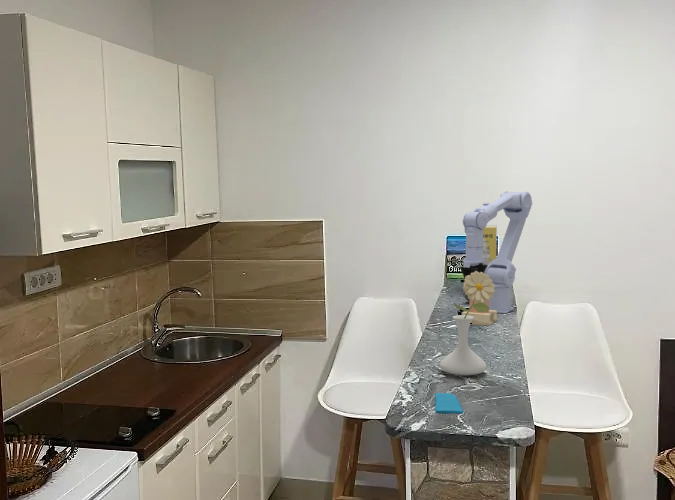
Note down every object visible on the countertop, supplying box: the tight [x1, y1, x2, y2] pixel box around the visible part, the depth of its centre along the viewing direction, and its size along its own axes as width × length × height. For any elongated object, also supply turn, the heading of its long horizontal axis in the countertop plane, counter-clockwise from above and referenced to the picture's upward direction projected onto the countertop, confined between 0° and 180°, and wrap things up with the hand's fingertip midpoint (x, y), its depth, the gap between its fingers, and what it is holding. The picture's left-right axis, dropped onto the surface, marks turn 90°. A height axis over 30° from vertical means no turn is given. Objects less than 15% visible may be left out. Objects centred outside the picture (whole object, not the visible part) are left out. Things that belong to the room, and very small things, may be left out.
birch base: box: [461, 309, 498, 327], centre depth 234 cm, size 9×9×4 cm
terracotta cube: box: [468, 299, 489, 313], centre depth 234 cm, size 5×5×5 cm
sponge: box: [434, 392, 465, 414], centre depth 149 cm, size 2×12×6 cm
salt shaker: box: [463, 293, 470, 306], centre depth 268 cm, size 6×6×12 cm
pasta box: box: [483, 224, 498, 267], centre depth 289 cm, size 18×10×28 cm, turn 167°
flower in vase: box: [438, 271, 495, 376], centre depth 171 cm, size 13×11×25 cm
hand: (473, 286), depth 242 cm, fingers open, 7 cm apart
